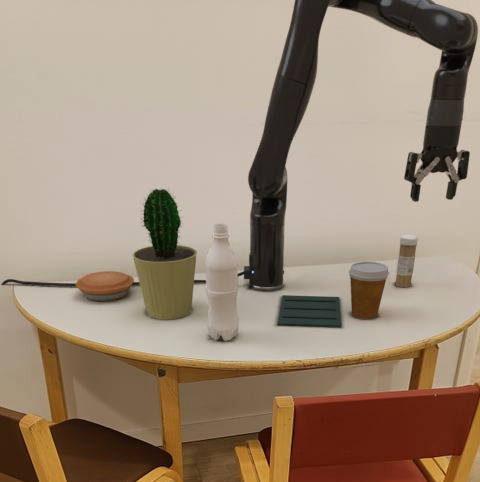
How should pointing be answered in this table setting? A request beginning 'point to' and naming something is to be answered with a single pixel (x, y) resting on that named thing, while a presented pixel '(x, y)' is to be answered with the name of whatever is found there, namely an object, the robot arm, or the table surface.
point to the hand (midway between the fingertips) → (432, 200)
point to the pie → (105, 285)
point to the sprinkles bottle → (406, 260)
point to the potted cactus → (165, 260)
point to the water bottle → (222, 286)
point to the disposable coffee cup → (367, 288)
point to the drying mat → (310, 311)
